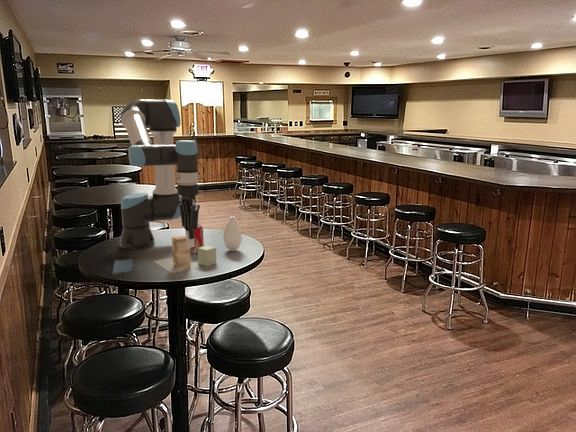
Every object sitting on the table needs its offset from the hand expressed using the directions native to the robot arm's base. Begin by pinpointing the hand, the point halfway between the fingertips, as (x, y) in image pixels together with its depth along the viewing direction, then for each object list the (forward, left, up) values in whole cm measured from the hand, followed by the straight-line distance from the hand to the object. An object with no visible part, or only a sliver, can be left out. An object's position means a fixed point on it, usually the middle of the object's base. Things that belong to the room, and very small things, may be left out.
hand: (190, 246), depth 169 cm
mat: (-13, 0, -11) cm, 17 cm away
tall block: (-8, 0, -10) cm, 13 cm away
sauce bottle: (-16, +28, -11) cm, 34 cm away
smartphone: (-22, -18, -11) cm, 30 cm away
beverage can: (-23, +14, -11) cm, 29 cm away
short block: (-6, +10, -11) cm, 16 cm away
